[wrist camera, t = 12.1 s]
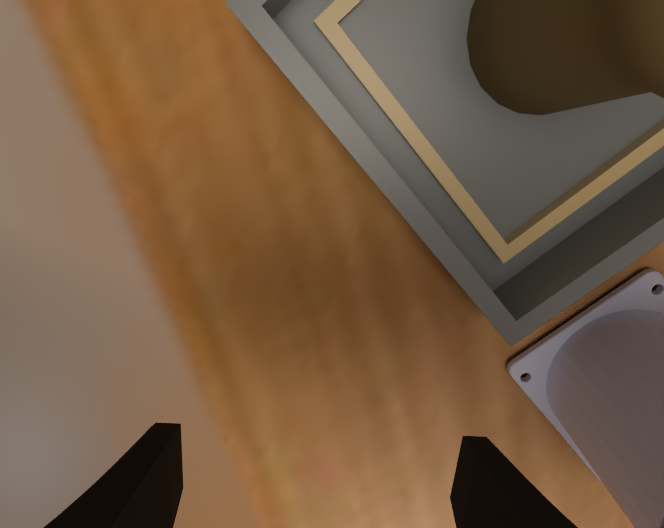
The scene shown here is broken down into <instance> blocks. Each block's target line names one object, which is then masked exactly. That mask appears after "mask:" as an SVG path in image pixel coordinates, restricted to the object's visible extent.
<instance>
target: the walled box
mask: <svg viewBox="0 0 664 528" xmlns="http://www.w3.org/2000/svg"><path fill="white" fill-rule="evenodd" d="M474 1H475V0H227V1H226V2H225V3H226V4H227V6H228V7H229V8H230V9H231V10H232V12H233V13H234V14H235V15H236V17H237V18H238V19H239V20H240V21H241V23H242V24H243V25H244V26H245V27H246V29H247V30H248V31H249V32H250V33H251V35H252V36H253V37H254V38H255V39H256V41H257V42H258V43H259V44H260V45H261V47H262V48H263V49H264V50H265V51H266V53H267V54H268V55H269V56H270V57H271V59H272V60H273V61H274V62H275V63H276V65H277V66H278V67H279V68H280V70H281V71H282V72H283V73H284V74H285V76H286V77H287V78H288V79H289V80H290V82H291V83H292V84H293V85H294V86H295V88H296V89H297V90H298V91H299V92H300V94H301V95H302V96H303V97H304V98H305V100H306V101H307V102H308V103H309V104H310V106H311V107H312V108H313V109H314V110H315V112H316V113H317V114H318V115H319V116H320V118H321V119H322V120H323V121H324V122H325V124H326V125H327V126H328V127H329V129H330V130H331V131H332V132H333V133H334V135H335V136H336V137H337V138H338V139H339V141H340V142H341V143H342V144H343V145H344V147H345V148H346V149H347V150H348V151H349V153H350V154H351V155H352V156H353V157H354V159H355V160H356V161H357V162H358V163H359V165H360V166H361V167H362V168H363V169H364V171H365V172H366V173H367V174H368V175H369V177H370V178H371V179H372V180H373V181H374V183H375V184H376V185H377V186H378V188H379V189H380V190H381V191H382V192H383V194H384V195H385V196H386V197H387V198H388V200H389V201H390V202H391V203H392V204H393V206H394V207H395V208H396V209H397V210H398V212H399V213H400V214H401V215H402V216H403V218H404V219H405V220H406V221H407V222H408V224H409V225H410V226H411V227H412V228H413V230H414V231H415V232H416V233H417V234H418V236H419V237H420V238H421V239H422V241H423V242H424V243H425V244H426V245H427V247H428V248H429V249H430V250H431V251H432V253H433V254H434V255H435V256H436V257H437V259H438V260H439V261H440V262H441V263H442V265H443V266H444V267H445V268H446V269H447V271H448V272H449V273H450V274H451V275H452V277H453V278H454V279H455V280H456V281H457V283H458V284H459V285H460V286H461V287H462V289H463V290H464V291H465V292H466V293H467V295H468V296H469V297H470V298H471V300H472V301H473V302H474V303H475V304H476V306H477V307H478V308H479V309H480V310H481V312H482V313H483V314H484V315H485V316H486V318H487V319H488V320H489V321H490V322H491V324H492V325H493V326H494V327H495V328H496V330H497V331H498V332H499V333H500V334H501V336H502V337H503V338H504V339H505V340H506V342H507V343H508V344H509V345H510V346H512V345H513V344H515V343H516V342H518V341H519V340H521V339H522V338H524V337H525V336H527V335H528V334H529V333H531V332H532V331H534V330H535V329H537V328H538V327H540V326H541V325H542V324H544V323H545V322H547V321H548V320H550V319H551V318H553V317H554V316H556V315H557V314H558V313H560V312H561V311H563V310H564V309H566V308H567V307H569V306H570V305H571V304H573V303H574V302H576V301H577V300H579V299H580V298H582V297H583V296H585V295H586V294H587V293H589V292H590V291H592V290H593V289H595V288H596V287H598V286H599V285H600V284H602V283H603V282H605V281H606V280H608V279H609V278H611V277H612V276H614V275H615V274H616V273H618V272H619V271H621V270H622V269H624V268H625V267H627V266H628V265H629V264H631V263H632V262H634V261H635V260H637V259H638V258H640V257H641V256H643V255H644V254H645V253H647V252H648V251H650V250H651V249H653V248H654V247H656V246H657V245H658V244H660V243H661V242H663V241H664V98H662V97H660V96H658V95H656V94H654V93H652V92H649V93H644V94H640V95H635V96H630V97H626V98H621V99H616V100H612V101H607V102H602V103H597V104H593V105H588V106H583V107H579V108H574V109H569V110H565V111H560V112H555V113H551V114H546V115H532V114H519V113H517V112H514V111H512V110H510V109H508V108H506V107H503V106H501V105H499V104H497V103H496V102H495V101H494V100H493V99H492V98H491V97H490V96H489V95H488V94H487V93H486V92H485V91H484V90H483V89H482V88H481V87H480V84H479V82H478V80H477V78H476V76H475V74H474V72H473V70H472V68H471V66H470V61H469V53H468V46H467V31H468V25H469V18H470V12H471V8H472V6H473V4H474Z"/></svg>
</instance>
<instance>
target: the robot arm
mask: <svg viewBox="0 0 664 528" xmlns="http://www.w3.org/2000/svg"><path fill="white" fill-rule="evenodd" d="M657 284H658V286H657V288H656V289H655V290H654V291H652V288H653V287H654V286H655V285H657ZM507 370H508V372H509V374H510V375H511V377H512V378H513V379H514V380H515V382H516V383H517V384H518V385H519V386H520V387H521V389H522V390H523V391H524V392H525V393H526V394H527V396H528V397H529V398H530V399H531V400H532V401H533V403H534V404H535V405H536V406H537V407H538V409H539V410H540V411H541V412H542V413H543V414H544V416H545V417H546V418H547V419H548V420H549V421H550V423H551V424H552V425H553V426H554V427H555V429H556V430H557V431H558V432H559V433H560V434H561V436H562V437H563V438H564V439H565V440H566V441H567V443H568V444H569V445H570V446H571V447H572V448H573V450H574V451H575V452H576V453H577V454H578V456H579V457H580V458H581V459H582V460H583V461H584V463H585V464H586V465H587V466H588V467H589V468H590V470H591V471H592V472H593V473H594V474H595V476H596V477H597V478H598V479H599V480H600V481H601V482H603V484H604V485H605V487H606V488H607V489H608V491H609V492H610V494H611V495H612V496H613V498H614V499H615V501H616V502H617V503H618V505H619V506H620V508H621V509H622V510H623V512H624V513H625V515H626V516H627V518H628V519H629V520H630V522H631V523H632V525H633V526H634V527H635V528H664V277H663V276H662V274H661V273H659V272H658V271H656V270H654V269H645V270H643V271H641V272H640V273H638V274H637V275H636V276H634V277H633V278H631V279H630V280H628V281H627V282H625V283H624V284H622V285H621V286H619V287H618V288H616V289H615V290H614V291H612V292H611V293H609V294H608V295H606V296H605V297H603V298H602V299H600V300H599V301H597V302H596V303H595V304H593V305H592V306H590V307H589V308H587V309H586V310H584V311H583V312H581V313H580V314H578V315H577V316H575V317H574V318H573V319H571V320H570V321H568V322H567V323H565V324H564V325H562V326H561V327H559V328H558V329H556V330H555V331H553V332H552V333H551V334H549V335H548V336H546V337H545V338H543V339H542V340H540V341H539V342H537V343H536V344H534V345H533V346H531V347H530V348H529V349H527V350H526V351H524V352H523V353H521V354H520V355H518V356H517V357H515V358H514V359H512V360H511V361H510V362H509V363H508V365H507ZM524 373H528V374H527V376H526V377H523V378H521V375H522V374H524ZM182 490H183V472H182V447H181V424H173V423H172V424H171V423H155V424H154V425H153V426H152V427H150V429H149V430H148V431H147V432H146V433H145V434H144V435H143V436H142V437H141V438H140V439H139V440H138V441H137V442H136V443H135V444H134V445H133V446H132V447H131V448H130V449H129V450H128V451H127V452H126V453H125V454H124V455H123V456H122V457H121V458H120V459H119V460H118V461H117V462H116V463H115V464H114V465H113V466H112V467H111V468H110V469H109V470H108V471H107V472H106V473H105V474H104V475H103V476H102V477H101V478H100V479H99V480H98V481H96V483H94V484H93V485H92V486H91V487H90V488H89V489H88V490H87V491H86V492H85V493H83V494H82V495H81V496H80V497H79V498H78V499H77V500H75V501H74V502H73V503H72V504H71V505H70V506H69V507H67V509H65V510H64V511H63V512H62V513H61V514H59V515H58V516H57V517H56V518H55V519H54V520H52V521H51V522H50V523H49V524H47V525H46V526H45V527H44V528H173V525H174V521H175V518H176V514H177V510H178V506H179V502H180V498H181V494H182ZM450 499H451V504H452V509H453V513H454V518H455V523H456V527H457V528H578V527H576V526H575V525H574V524H573V523H572V522H571V521H570V520H569V519H568V518H566V517H565V516H564V515H563V514H562V513H561V512H560V511H559V510H558V509H557V508H556V507H555V506H554V505H553V504H552V503H551V502H550V501H549V500H547V499H546V498H545V497H544V496H543V495H542V494H541V493H540V492H539V491H538V490H537V489H536V488H535V487H534V486H533V485H532V484H531V483H530V482H529V481H528V480H527V479H526V478H525V477H524V475H523V474H522V473H521V472H520V471H519V470H518V469H517V468H516V467H515V466H514V465H513V464H512V463H511V462H510V461H509V460H508V459H507V458H506V457H505V456H504V455H503V454H502V453H501V452H500V451H499V449H498V448H497V447H496V446H495V445H494V444H493V443H492V442H491V441H490V440H489V439H488V438H487V437H476V436H463V438H462V443H461V448H460V452H459V457H458V462H457V467H456V472H455V476H454V481H453V486H452V491H451V496H450Z"/></svg>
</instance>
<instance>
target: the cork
mask: <svg viewBox="0 0 664 528" xmlns="http://www.w3.org/2000/svg"><path fill="white" fill-rule="evenodd" d="M467 46H468V53H469V61H470V66H471V68H472V70H473V72H474V74H475V76H476V78H477V80H478V82H479V84H480V87H481V88H482V89H483V90H484V91H485V92H486V93H487V94H488V95H489V96H490V97H491V98H492V99H493V100H494V101H495V102H496V103H497V104H499V105H501V106H503V107H506V108H508V109H510V110H512V111H514V112H517V113H519V114H532V115H546V114H551V113H555V112H560V111H565V110H569V109H574V108H579V107H583V106H588V105H593V104H597V103H602V102H607V101H612V100H616V99H621V98H626V97H630V96H635V95H640V94H644V93H649V92H652V93H654V94H656V95H658V96H660V97H662V98H664V0H475V1H474V4H473V6H472V8H471V12H470V18H469V25H468V31H467Z"/></svg>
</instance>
